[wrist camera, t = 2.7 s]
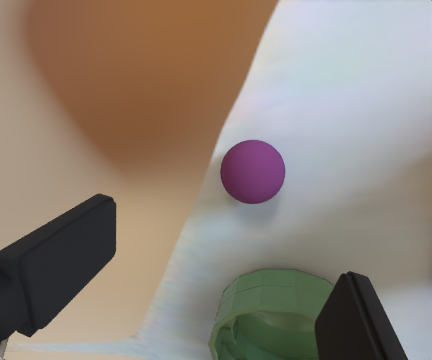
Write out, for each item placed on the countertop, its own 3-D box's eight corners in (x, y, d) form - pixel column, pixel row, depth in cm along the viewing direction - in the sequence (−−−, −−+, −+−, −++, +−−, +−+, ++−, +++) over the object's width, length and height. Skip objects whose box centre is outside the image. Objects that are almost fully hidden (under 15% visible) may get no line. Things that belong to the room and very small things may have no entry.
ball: (234, 128, 20) (220, 140, 15) (292, 142, 19) (296, 160, 14) (223, 180, 22) (207, 204, 17) (275, 194, 21) (273, 224, 16)
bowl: (236, 245, 24) (226, 282, 20) (391, 297, 22) (419, 352, 17) (211, 333, 30) (199, 376, 26) (329, 381, 28) (338, 437, 23)
